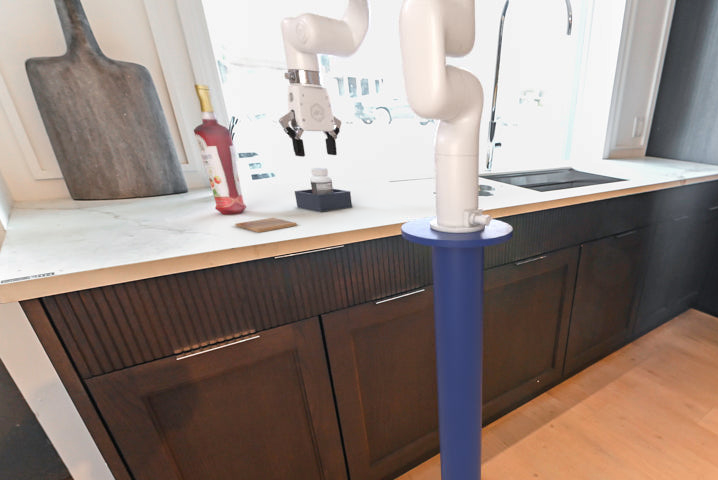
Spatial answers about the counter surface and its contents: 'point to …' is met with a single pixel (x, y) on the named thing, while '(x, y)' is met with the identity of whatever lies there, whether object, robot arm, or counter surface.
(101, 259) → the counter surface
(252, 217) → the counter surface
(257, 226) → the coaster
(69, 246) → the counter surface
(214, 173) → the liquor
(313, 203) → the bin
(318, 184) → the pill bottle
